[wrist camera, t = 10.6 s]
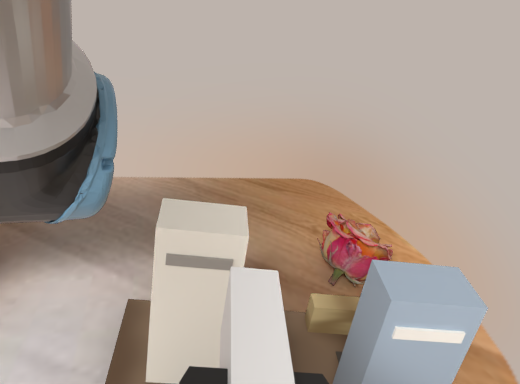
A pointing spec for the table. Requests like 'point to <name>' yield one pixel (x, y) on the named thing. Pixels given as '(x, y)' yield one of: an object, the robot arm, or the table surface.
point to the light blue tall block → (410, 325)
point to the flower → (351, 248)
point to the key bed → (298, 329)
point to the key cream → (191, 284)
